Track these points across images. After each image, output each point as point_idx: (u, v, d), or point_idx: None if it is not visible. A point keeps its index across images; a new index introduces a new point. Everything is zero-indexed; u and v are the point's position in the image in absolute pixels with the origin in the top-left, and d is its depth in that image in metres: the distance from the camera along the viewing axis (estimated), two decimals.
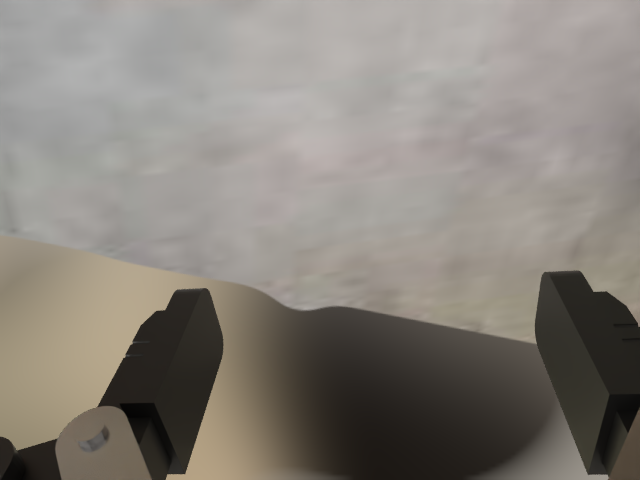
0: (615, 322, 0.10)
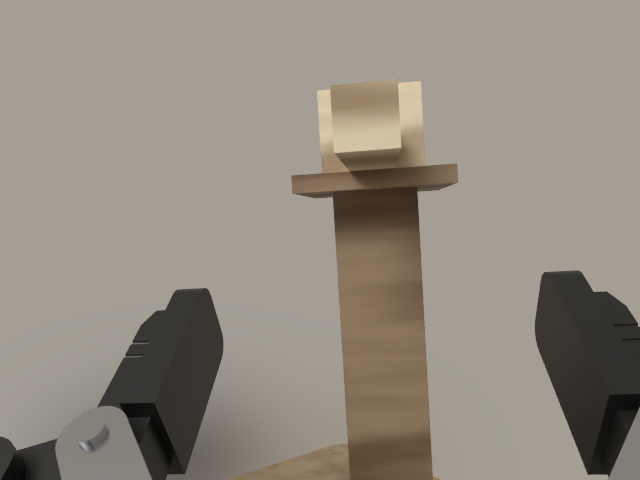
0: (615, 322, 0.10)
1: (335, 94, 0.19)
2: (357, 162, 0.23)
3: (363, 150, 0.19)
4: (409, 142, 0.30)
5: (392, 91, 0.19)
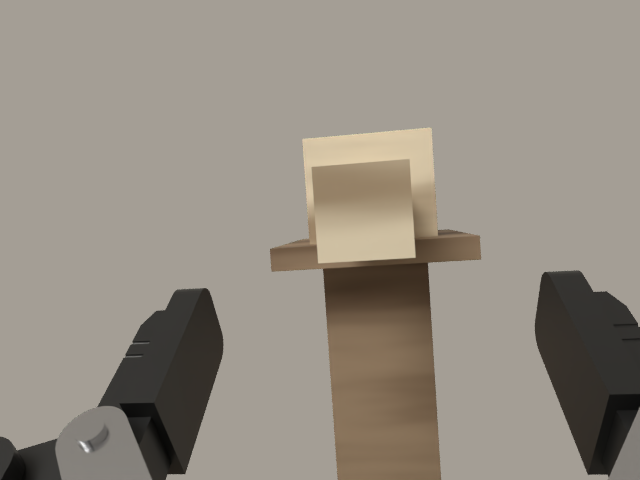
0: (615, 322, 0.10)
1: (319, 179, 0.13)
2: None
3: (360, 259, 0.13)
4: (417, 203, 0.24)
5: (402, 176, 0.13)
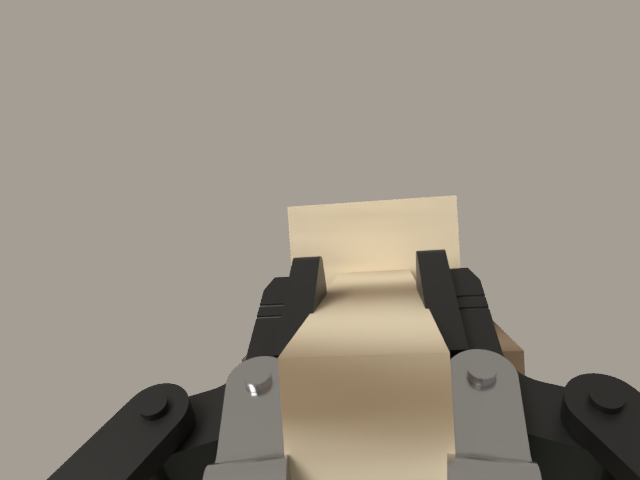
0: (466, 293, 0.12)
1: (291, 380, 0.08)
2: None
3: None
4: None
5: (436, 382, 0.07)
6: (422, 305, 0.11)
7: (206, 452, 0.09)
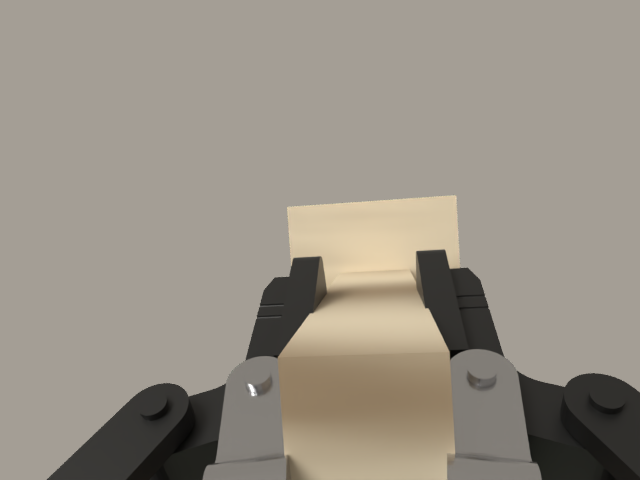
0: (465, 293, 0.12)
1: (291, 380, 0.08)
2: None
3: None
4: None
5: (436, 382, 0.07)
6: (422, 305, 0.11)
7: (206, 452, 0.09)
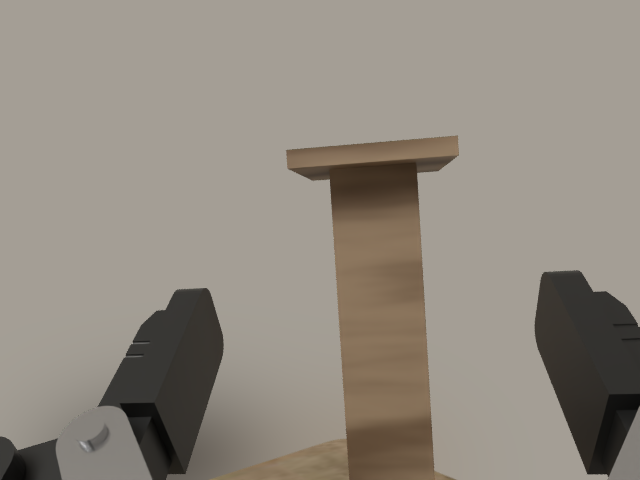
0: (615, 322, 0.10)
1: None
2: None
3: None
4: None
5: None
6: None
7: None
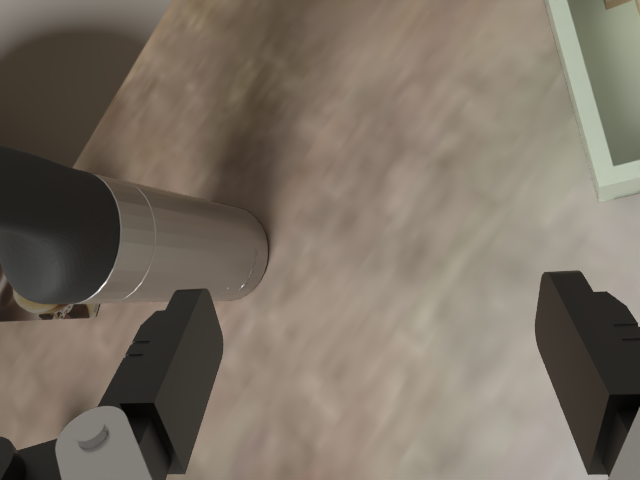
0: (615, 322, 0.10)
1: None
2: None
3: None
4: None
5: None
6: None
7: None
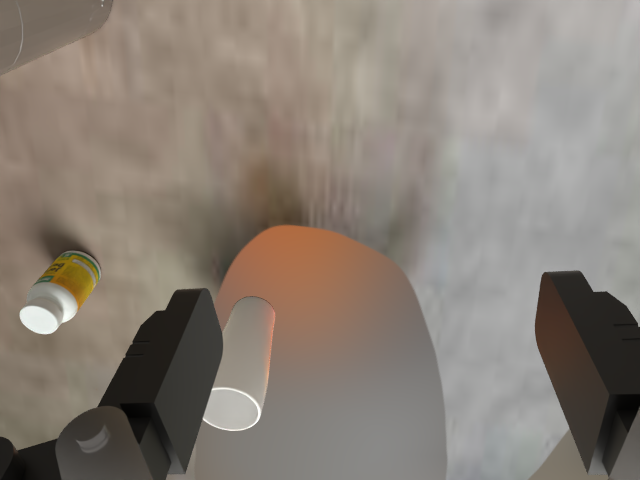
0: (615, 322, 0.10)
1: None
2: None
3: None
4: None
5: None
6: None
7: None
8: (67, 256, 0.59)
